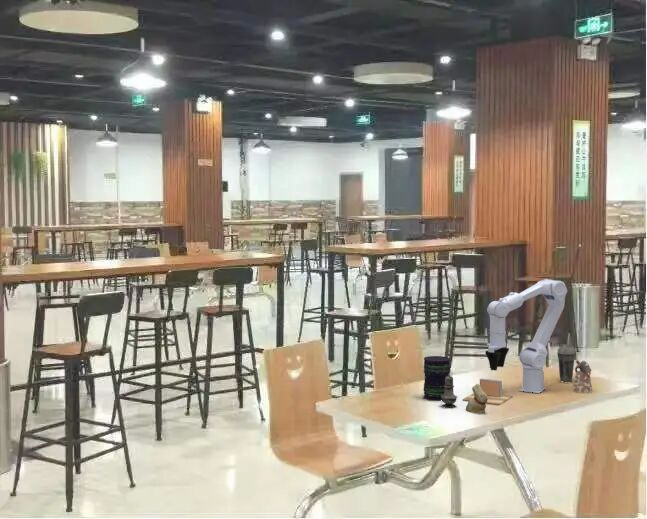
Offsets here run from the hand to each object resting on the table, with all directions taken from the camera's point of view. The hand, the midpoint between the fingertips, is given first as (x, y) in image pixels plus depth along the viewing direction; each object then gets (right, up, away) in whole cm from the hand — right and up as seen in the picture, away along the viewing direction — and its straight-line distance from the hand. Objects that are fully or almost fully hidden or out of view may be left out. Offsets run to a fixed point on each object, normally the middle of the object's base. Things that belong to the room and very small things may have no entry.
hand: (497, 368), depth 314 cm
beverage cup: (+33, -9, +22) cm, 40 cm away
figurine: (+34, -10, +5) cm, 36 cm away
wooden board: (-5, -10, -8) cm, 14 cm away
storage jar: (-24, -10, -6) cm, 27 cm away
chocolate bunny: (-13, -12, -27) cm, 32 cm away
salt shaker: (-21, -11, -19) cm, 31 cm away
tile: (-4, -10, -5) cm, 12 cm away
